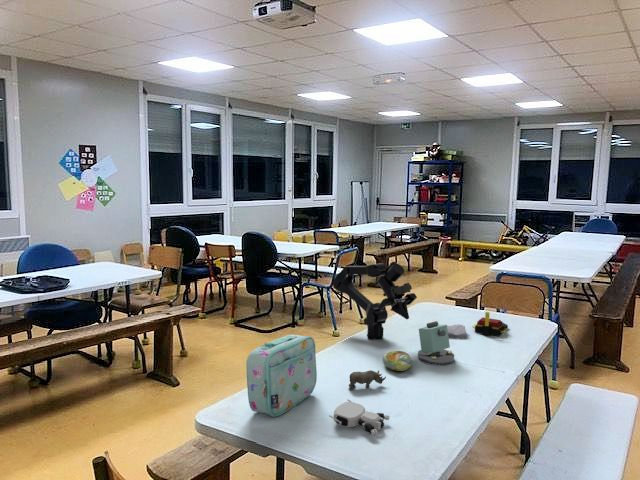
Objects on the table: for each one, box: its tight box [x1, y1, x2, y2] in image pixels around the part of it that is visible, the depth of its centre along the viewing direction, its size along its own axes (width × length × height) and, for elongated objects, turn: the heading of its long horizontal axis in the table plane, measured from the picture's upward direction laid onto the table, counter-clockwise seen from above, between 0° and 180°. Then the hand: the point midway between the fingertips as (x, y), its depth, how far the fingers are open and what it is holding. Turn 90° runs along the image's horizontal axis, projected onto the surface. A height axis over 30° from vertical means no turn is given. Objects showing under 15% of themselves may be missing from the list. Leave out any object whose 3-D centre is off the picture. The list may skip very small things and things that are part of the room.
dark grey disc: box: [417, 349, 455, 366], centre depth 200 cm, size 14×14×3 cm
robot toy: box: [328, 398, 390, 435], centre depth 146 cm, size 12×4×15 cm
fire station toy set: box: [472, 311, 509, 337], centre depth 238 cm, size 14×20×11 cm
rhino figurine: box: [348, 369, 387, 392], centre depth 173 cm, size 4×14×6 cm, turn 104°
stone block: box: [447, 323, 468, 339], centre depth 231 cm, size 12×5×10 cm
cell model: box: [382, 350, 413, 372], centre depth 192 cm, size 11×8×15 cm
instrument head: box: [418, 320, 451, 353], centre depth 200 cm, size 8×10×11 cm
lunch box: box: [245, 333, 318, 418], centre depth 158 cm, size 27×10×21 cm, turn 148°
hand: (408, 318), depth 210 cm, fingers closed
